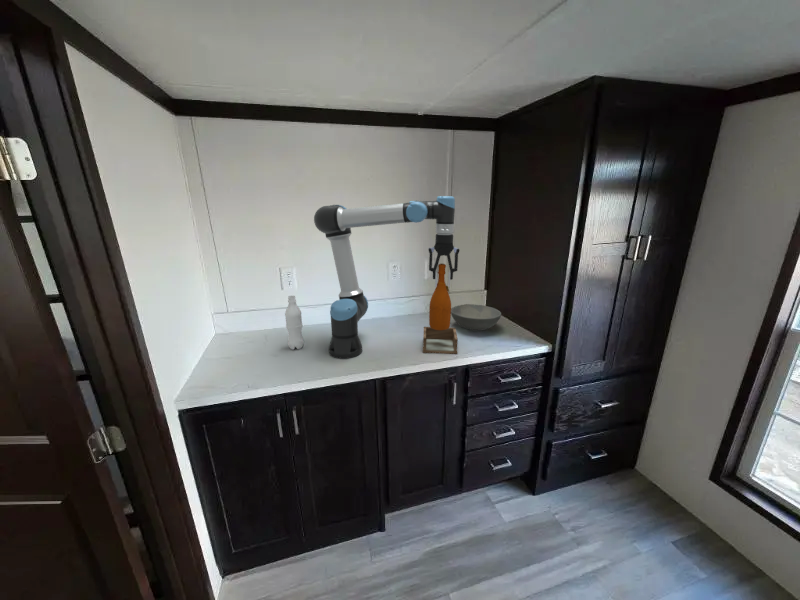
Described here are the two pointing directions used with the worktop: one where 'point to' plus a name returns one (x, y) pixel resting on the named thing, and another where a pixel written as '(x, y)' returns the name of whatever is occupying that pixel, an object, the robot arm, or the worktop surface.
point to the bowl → (475, 316)
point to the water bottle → (294, 324)
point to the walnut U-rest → (440, 341)
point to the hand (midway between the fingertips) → (442, 286)
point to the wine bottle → (440, 303)
